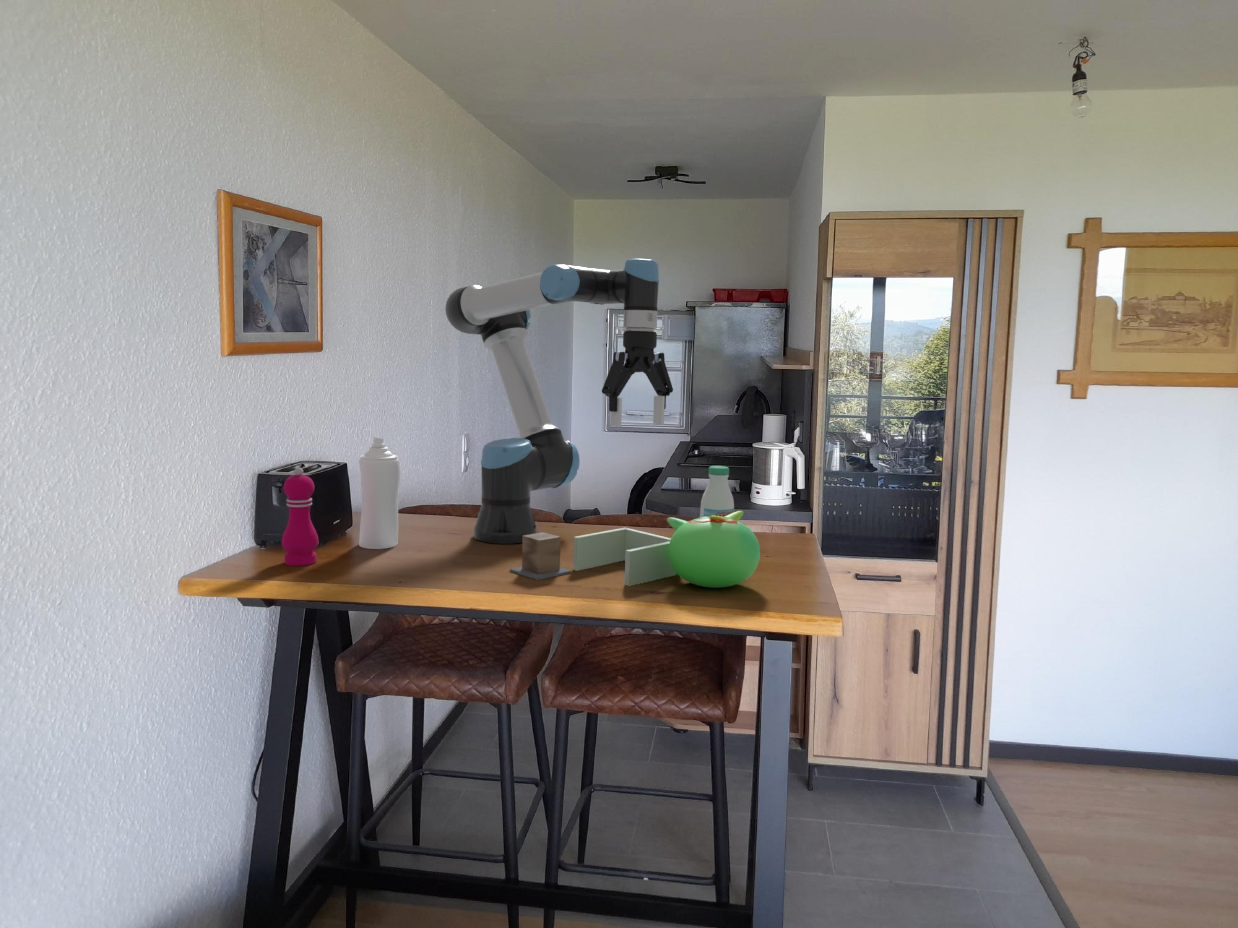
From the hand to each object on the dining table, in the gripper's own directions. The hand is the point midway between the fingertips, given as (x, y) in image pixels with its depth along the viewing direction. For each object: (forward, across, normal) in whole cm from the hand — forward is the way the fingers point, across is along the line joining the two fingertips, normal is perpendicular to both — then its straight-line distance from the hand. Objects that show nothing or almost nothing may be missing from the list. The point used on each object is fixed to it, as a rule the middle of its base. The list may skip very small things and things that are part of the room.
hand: (637, 425), depth 200 cm
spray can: (+29, -44, +37) cm, 65 cm away
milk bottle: (+29, +13, -13) cm, 35 cm away
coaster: (+29, -29, -2) cm, 41 cm away
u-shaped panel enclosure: (+29, -16, -13) cm, 35 cm away
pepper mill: (+29, -64, +34) cm, 78 cm away
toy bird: (+29, -8, -31) cm, 43 cm away
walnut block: (+28, -29, -2) cm, 41 cm away
